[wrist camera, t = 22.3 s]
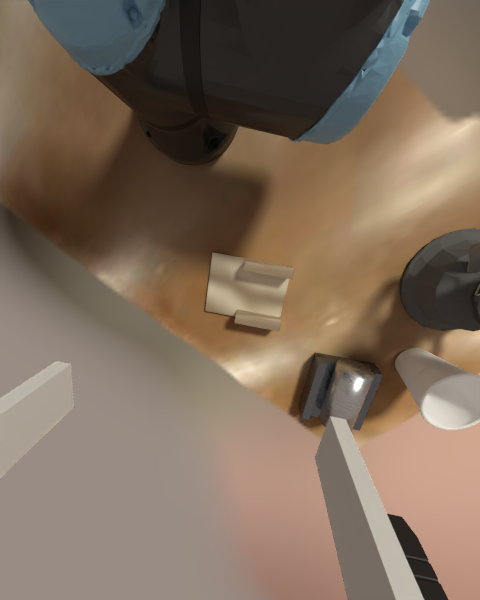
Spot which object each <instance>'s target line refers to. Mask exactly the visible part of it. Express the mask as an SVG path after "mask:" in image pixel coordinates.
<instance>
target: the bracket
mask: <svg viewBox="0 0 480 600" xmlns="http://www.w3.org/2000/svg"><path fill="white" fill-rule="evenodd" d="M293 274H294V269H293V268H292V267H291V266H286V265H280V264H275V263H269V262H264V261H258V260H252V259H247V258H241V257H236V256H230V255H225V254H219V253H214V252H213V253H212V260H211V268H210V276H209V284H208V292H207V300H206V308H205V311H209V312H214V313H219V314H225V315H230V316H235V323H237V324H242V325H247V326H253V327H258V328H263V329H268V330H274V331H280V327H281V320H280V315H281V311H282V307H283V303H284V298H285V294H286V290H287V286H288V282H289V279H292V278H293Z"/></svg>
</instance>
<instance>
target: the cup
mask: <svg viewBox="0 0 480 600" xmlns="http://www.w3.org/2000/svg"><path fill="white" fill-rule="evenodd" d="M395 368H396V370H397V372H398V373H399V375H400V377H401V378H402V380H403V382H404V383H405V385H406V387H407V388H408V390H409V392H410V393H411V395H412V397H413V398H414V400H415V402H416V403H417V405H418V407H419V408H420V412H421V415H422V416H423V418H424V419H425V420H426V421H427V422H428V423H429V424H431V425H432V426H434V427H437V428H440V429H445V430H459V429H464V428H468V427H470V426H473V425H475V424H477V423H479V422H480V376H479V375H475V374H472V373H470V372H468V371H466V370H464V369H462V368H460V367H458V366H456V365H453V364H452V363H450V362H447V361H445V360H443V359H441V358H440V357H437V356H435V355H433V354H432V353H430V352H427V351H425V350H423V349H420V348H410V349H407V350H405V351H403V352H402V353H400V354H399V355H398V357H397V358H396V361H395Z"/></svg>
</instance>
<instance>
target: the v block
mask: <svg viewBox="0 0 480 600" xmlns="http://www.w3.org/2000/svg"><path fill="white" fill-rule="evenodd" d="M339 359H346V358H341V357H336V356H331V355H326V354H320V353H315V354H314V358H313V361H312V364H311V367H310V371H309V374H308V377H307V380H306V384H305V387H304V390H303V393H302V397H301V400H300V403H299V409H300V414H301V419H306V420H309V419H310V416H313V417H318V416H319V414H320V411H321V408H322V405H323V402H324V399H325V396H326V393H327V390H328V387H329V384H330V382H331V379H332V376H333V373H334V370H335V367H336V364H337V361H338V360H339ZM354 361H357V360H354ZM357 362H359V363H361V364H363V365H365V366H367V367H368V368H369V369H370V370H371V371H372V372H373V373H374V378H373V381H372V383H371V386H370V388H369V390H368V393H367V395H366V398H365V400H364V403H363V405H362V407H361V410H360V412H359V415H358V417H357V420H356V422H355V425H354V427H353V429H355V430H360V428H361V426H362V424H363V422H364V419H365V417H366V415H367V412H368V410H369V408H370V405H371V403H372V401H373V398H374V396H375V394H376V391H377V389H378V387H379V384H380V382H381V380H382V377H383V374H382V373H381V371H380V370H379V369H378V368H377V366H376V365H375V364H372V363H367V362H362V361H357Z"/></svg>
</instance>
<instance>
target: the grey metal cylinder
mask: <svg viewBox="0 0 480 600" xmlns="http://www.w3.org/2000/svg"><path fill="white" fill-rule="evenodd" d="M373 378H374V373H373V372H372V371H371V370H370V369H369V368H368V367H367V366H365V365H363V364H361V363H359V362H357V361H354V360H351V359H339V360H338V361H337V364H336V367H335V370H334V373H333V376H332V379H331V382H330V384H329V387H328V390H327V393H326V396H325V399H324V402H323V405H322V408H321V411H320V414H319V419H320V421H321V423H322V424H323V425H324V426H325V427H326V426H327V423H328V420H329V418H330V416H332V417H337V418H342V419H346V421H347V423H348V426H349V428H350V430H351V432H352V429H353V427H354V425H355V422H356V420H357V417H358V415H359V412H360V410H361V407H362V405H363V403H364V400H365V398H366V395H367V393H368V390H369V388H370V386H371V383H372V381H373Z"/></svg>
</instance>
